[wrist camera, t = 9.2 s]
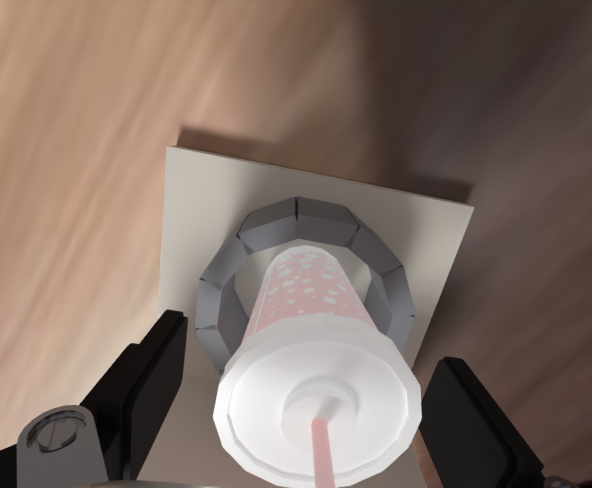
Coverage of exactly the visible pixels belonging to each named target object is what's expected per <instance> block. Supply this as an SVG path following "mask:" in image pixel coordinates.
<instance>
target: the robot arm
mask: <svg viewBox="0 0 592 488" xmlns="http://www.w3.org/2000/svg"><path fill="white" fill-rule="evenodd" d="M187 328H188V317H186V316H184V314H183V312H181V311H175V310H169V309H166V310H165V311H164V313H163V314H162V315H161V317H160V318H159V319H158V320H157V322H156V323H155V324H154V326H153V327H152V328H151V330H150V331H149V332H148V333H147V335H146V336H145V337H144V339H143V340H142V341H141V342H140V344H135V343H131V344H129V345H128V346H127V347H126V349H125V350H124V351H123V352H122V353H121V355H120V356H119V357H118V358H117V359H116V361H115V362H114V363H113V364H112V366H111V367H110V368H109V369H108V370H107V372H106V373H105V374H104V375H103V377H102V378H101V379H100V380H99V381H98V383H97V384H96V385H95V386H94V387H93V389H92V390H91V391H90V392H89V394H88V395H87V396H86V397H85V398H84V400H83V401H82V402H81V403H80V404H79V406H78V405H66V406H61V407H57V408H54V409H51V410H49V411H47V412H44V413H42V414H41V415H39V416H38V417H36V418H35V419H33V420H32V421H31V422H30V423H29V424H28V425H27V426H26V427H25V428H24V429H23V431H22V432H21V434H20V435H19V437H18V442H17V444H15V445H12V446H10V447H8V448H5V449H3V450H0V488H218V487H209V486H200V485H191V484H182V483H173V482H162V481H145V480H136V479H137V477H138V475H139V473H140V471H141V469H142V467H143V464H144V462H145V460H146V458H147V456H148V454H149V452H150V450H151V448H152V445H153V443H154V441H155V439H156V437H157V435H158V433H159V431H160V429H161V426H162V424H163V422H164V420H165V418H166V416H167V414H168V412H169V409H170V407H171V405H172V403H173V401H174V399H175V397H176V395H177V393H178V390H179V388H180V386H181V383H182V379H183V370H184V359H185V349H186V338H187ZM421 411H422V419H421V421H420V424H419V426H418V428H419V430H420V432H421V435H422V437H423V440H424V442H425V444H426V447H427V449H428V451H429V454H430V456H431V458H432V461H433V463H434V466H435V468H436V470H437V473H438V475H439V477H440V480H441V482H442V484H443V487H444V488H580V487H578V486H577V485H575V484H574V483H572V482H570V481H568V480H566V479H564V478H561V477H558V476H549V477H547V478H545V477H544V476H543V474H542V473H541V470H542V469H543V467H544V465H543V464H542V463H541V461H540V460H539V459H538V457H537V456H536V455H535V453H534V452H533V451H532V449H531V448H530V447H529V445H528V444H527V443H526V442H525V440H524V439H523V438H522V436H521V435H520V434H519V432H518V431H517V430H516V428H515V427H514V426H513V424H512V423H511V422H510V420H509V419H508V418H507V416H506V415H505V414H504V413H503V411H502V410H501V409H500V407H499V406H498V405H497V403H496V402H495V401H494V399H493V398H492V397H491V395H490V394H489V393H488V391H487V390H486V389H485V387H484V386H483V385H482V384H481V382H480V381H479V380H478V378H477V377H476V376H475V374H474V373H473V372H472V370H471V369H470V368H469V366H468V365H467V364H466V362H465V361H464V360H463V359H460V358H454V357H448V356H446V357H444V358H443V360H439V362H438V363H437V366H436V368H435V371H434V373H433V375H432V378H431V380H430V383H429V385H428V387H427V390H426V392H425V395H424V397H423V399H422V402H421Z"/></svg>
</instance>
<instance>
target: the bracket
mask: <svg viewBox="0 0 592 488" xmlns="http://www.w3.org/2000/svg"><path fill="white" fill-rule="evenodd" d="M473 210H474V207H472V206H470V205H467V204H465V203H461V202H456V201H451V200H446V199H441V198H436V197H431V196H426V195H421V194H416V193H411V192H406V191H401V190H396V189H391V188H386V187H381V186H376V185H371V184H366V183H361V182H356V181H351V180H346V179H341V178H336V177H331V176H326V175H321V174H316V173H311V172H306V171H301V170H296V169H291V168H286V167H281V166H276V165H271V164H266V163H261V162H256V161H251V160H246V159H241V158H236V157H231V156H226V155H221V154H216V153H211V152H206V151H201V150H196V149H191V148H186V147H181V146H167V154H166V172H165V190H164V207H163V225H162V243H161V261H160V278H159V296H158V314H157V320H158V319H159V318H160V317H161V315H162V314H163V313H164V311H165V310H166V309H169V310H175V311H181V312H183V314H184V316H186V317H188V328H187V338H186V349H185V359H184V370H183V379H182V383H181V386H180V388H179V390H178V393H177V395H176V397H175V399H174V401H173V403H172V405H171V407H170V409H169V412H168V414H167V416H166V418H165V420H164V422H163V424H162V426H161V429H160V431H159V433H158V435H157V437H156V439H155V441H154V443H153V445H152V448H151V450H150V452H149V454H148V456H147V458H146V460H145V462H144V464H143V467H142V469H141V471H140V473H139V475H138V477H137V479H136V480H145V481H162V482H173V483H182V484H191V485H200V486H209V487H218V488H289V487H282V486H277V485H275V484H272V483H270V482H268V481H266V480H264V479H262V478H260V477H258V476H255V475H253V474H251V473H249V472H247V471H245V470H244V469H243V468H242V467H241V466H240V465H239V463H238V462H237V461H236V460H235V459H234V458H233V457H232V456H231V455H230V454H229V453H228V452H227V451H226V450H225V449H224V448H223V446H222V443H221V440H220V437H219V434H218V431H217V428H216V425H215V422H214V419H213V413H214V408H215V403H216V397H217V392H218V386H219V382H220V379H221V377H222V375H223V374H224V371H225V365H226V364H227V363H228V361H229V360H230V359H231V358H232V356H233V355H234V354H235V352H236V351H237V350H238V348H239V347H240V346H241V343H242V340H243V338H244V335H245V332H246V329H247V326H248V323H249V320H250V317H251V314H252V311H253V308H254V306H255V303H256V300H257V297H258V294H259V291H260V288H261V285H262V282H263V279H264V276H265V274H266V271H267V268H268V267H269V266H270V264H271V263H272V261H273V260H274V259H275V257H276V256H278V255H279V254H281V253H283V252H284V251H286V250H288V249H289V248H294V247H300V246H311V247H316V248H321V249H323V250H325V251H326V252H327V253H329V254H330V255H332V256H333V257H335V258H336V260H337V262H338V263H339V265H340V266H341V268H342V270H343V271H344V273H345V275H346V276H347V278H348V280H349V281H350V283H351V285H352V287H353V288H354V290H355V292H356V293H357V295H358V297H359V298H360V300H361V302H362V304H363V305H364V307H365V309H366V310H367V312H368V314H369V315H370V317H371V319H372V321H373V322H374V324H375V326H376V327H377V329H378V331H379V332H380V333H382V334H384V335H385V336H387V337H388V338H390V339H391V340H392V341H393V343H394V344H395V346H396V347H397V349H398V351H399V352H400V354H401V355H402V357H403V359H404V360H405V362H406V363H407V365H408V367H409V368H410V370H411V369H412V367H413V364H414V362H415V359H416V356H417V354H418V351H419V349H420V346H421V344H422V341H423V338H424V336H425V333H426V331H427V328H428V326H429V323H430V321H431V318H432V315H433V313H434V310H435V308H436V305H437V303H438V300H439V297H440V295H441V292H442V290H443V287H444V285H445V282H446V279H447V277H448V274H449V272H450V269H451V267H452V264H453V261H454V259H455V256H456V254H457V251H458V249H459V246H460V243H461V241H462V238H463V236H464V233H465V231H466V228H467V225H468V223H469V220H470V218H471V215H472V213H473ZM338 488H427V486H426V484H425V481H424V478H423V476H422V473H421V470H420V468H419V465H418V462H417V460H416V457H415V454H414V452H413V449H412V446H411V444H410V445H409V448H408V449H407V450H406V451H404V452H403V453H402V454H401V455H400V456H399V457H398V458H397V459H396V460H395V461H394V462H392V463H391V464H390V465H389V466H388V467H387V468H386V469H385V470H384V471H382V472H380V473H378V474H375V475H373V476H371V477H369V478H366V479H364V480H362V481H360V482H358V483H355V484H353V485H351V486H345V487H338Z"/></svg>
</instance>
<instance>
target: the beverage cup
mask: <svg viewBox="0 0 592 488" xmlns="http://www.w3.org/2000/svg"><path fill="white" fill-rule="evenodd" d="M213 419H214V422H215V425H216V428H217V431H218V434H219V437H220V440H221V443H222V446H223V448H224V449H225V450H226V451H227V452H228V453H229V454H230V455H231V456H232V457H233V458H234V459H235V460H236V461H237V462H238V463H239V465H240V466H241V467H242V468H243V469H244V470H245V471H247V472H249V473H251V474H253V475H255V476H258V477H260V478H262V479H264V480H266V481H268V482H270V483H272V484H275V485H277V486H282V487H289V488H338V487H345V486H351V485H353V484H355V483H358V482H360V481H362V480H364V479H366V478H369V477H371V476H373V475H375V474H378V473H380V472H382V471H384V470H385V469H386V468H387V467H388V466H389V465H390V464H391V463H392V462H394V461H395V460H396V459H397V458H398V457H399V456H400V455H401V454H402V453H403V452H404V451H406V450H407V449H408V448H409V445H410V443H411V441H412V439H413V437H414V435H415V432H416V430H417V428H418V426H419V424H420V421H421V419H422V411H421V392H420V385H419V383H418V381H417V379H416V378H415V376H414V375H413V373H412V371H411V370H410V368H409V367H408V365H407V363H406V362H405V360H404V359H403V357H402V355H401V354H400V352H399V351H398V349H397V347H396V346H395V344H394V343H393V341H392V340H391V339H390V338H388V337H387V336H385V335H384V334H382V333H380V332H379V331H378V329H377V327H376V326H375V324H374V322H373V321H372V319H371V317H370V315H369V314H368V312H367V310H366V309H365V307H364V305H363V304H362V302H361V300H360V298H359V297H358V295H357V293H356V292H355V290H354V288H353V287H352V285H351V283H350V281H349V280H348V278H347V276H346V275H345V273H344V271H343V270H342V268H341V266H340V265H339V263H338V262H337V260H336V258H335V257H333V256H332V255H330V254H329V253H327V252H326V251H325V250H323V249H321V248H316V247H311V246H300V247H294V248H289V249H288V250H286V251H284V252H283V253H281V254H279V255H278V256H276V257H275V259H274V260H273V261H272V263H271V264H270V266H269V267H268V268H267V271H266V274H265V276H264V279H263V282H262V285H261V288H260V291H259V294H258V297H257V300H256V303H255V306H254V308H253V311H252V314H251V317H250V320H249V323H248V326H247V329H246V332H245V335H244V338H243V340H242V343H241V346H240V347H239V348H238V350H237V351H236V352H235V354H234V355H233V356H232V358H231V359H230V360H229V361H228V363H227V364H226V365H225V371H224V374H223V375H222V377H221V379H220V382H219V386H218V392H217V397H216V403H215V408H214V413H213Z"/></svg>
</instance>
